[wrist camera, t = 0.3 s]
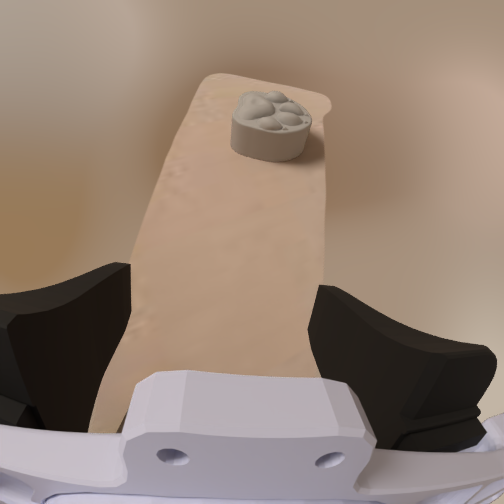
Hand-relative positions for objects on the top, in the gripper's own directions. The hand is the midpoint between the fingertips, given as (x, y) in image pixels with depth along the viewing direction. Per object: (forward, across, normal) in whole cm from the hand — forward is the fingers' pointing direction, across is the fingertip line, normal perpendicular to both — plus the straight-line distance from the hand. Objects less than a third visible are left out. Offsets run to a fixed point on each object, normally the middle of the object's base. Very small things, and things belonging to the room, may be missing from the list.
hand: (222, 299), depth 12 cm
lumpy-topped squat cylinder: (+49, -6, -6) cm, 50 cm away
